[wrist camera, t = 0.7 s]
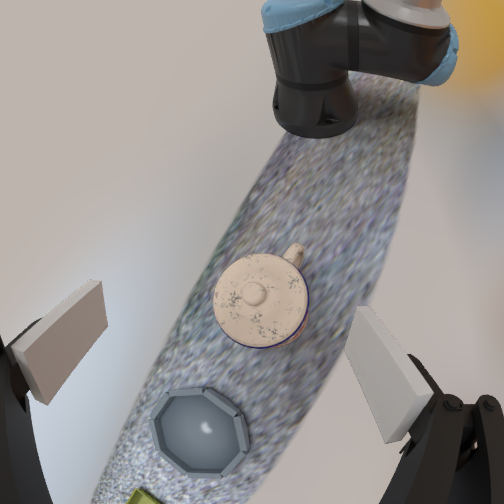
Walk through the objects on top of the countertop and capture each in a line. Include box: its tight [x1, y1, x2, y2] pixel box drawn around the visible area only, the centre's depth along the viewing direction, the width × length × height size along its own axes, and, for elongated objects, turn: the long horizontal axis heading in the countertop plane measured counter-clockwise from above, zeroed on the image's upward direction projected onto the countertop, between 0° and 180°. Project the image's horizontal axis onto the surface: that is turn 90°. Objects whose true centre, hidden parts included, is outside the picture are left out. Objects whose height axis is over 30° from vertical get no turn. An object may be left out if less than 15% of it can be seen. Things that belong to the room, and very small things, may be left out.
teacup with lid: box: [213, 243, 309, 349], centre depth 28 cm, size 12×9×12 cm
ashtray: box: [149, 387, 250, 479], centre depth 28 cm, size 13×13×2 cm
